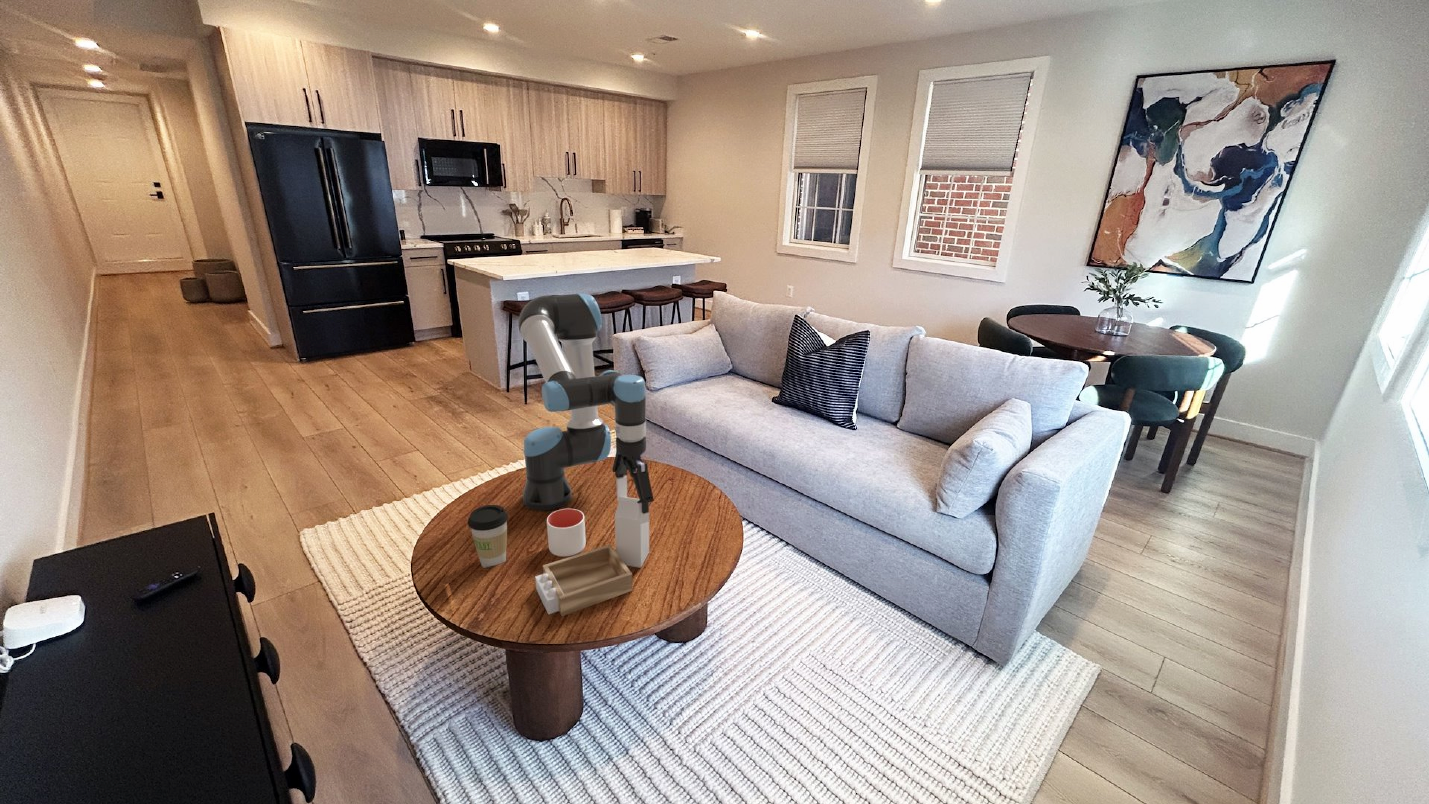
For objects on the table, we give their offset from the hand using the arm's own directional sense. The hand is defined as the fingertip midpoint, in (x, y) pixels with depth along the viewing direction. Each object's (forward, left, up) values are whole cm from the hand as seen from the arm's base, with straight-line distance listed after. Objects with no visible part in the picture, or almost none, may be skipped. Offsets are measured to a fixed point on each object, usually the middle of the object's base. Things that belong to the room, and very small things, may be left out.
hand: (632, 510), depth 146 cm
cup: (-13, -14, -16) cm, 25 cm away
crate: (+6, -15, -16) cm, 22 cm away
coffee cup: (-17, -33, -16) cm, 40 cm away
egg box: (+6, -24, -15) cm, 29 cm away
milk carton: (0, 0, -16) cm, 16 cm away
